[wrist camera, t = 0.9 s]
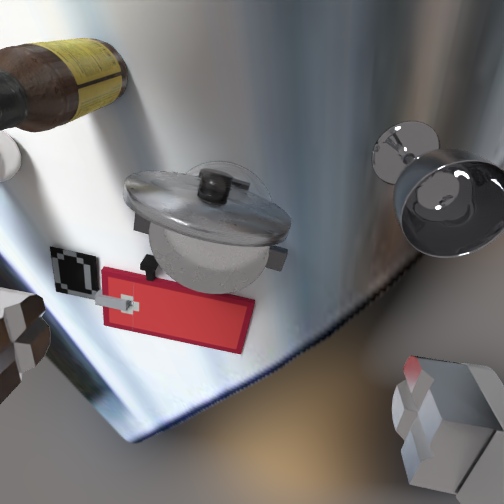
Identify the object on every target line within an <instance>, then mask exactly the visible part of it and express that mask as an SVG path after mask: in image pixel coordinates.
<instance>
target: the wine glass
mask: <svg viewBox="0 0 504 504" xmlns="http://www.w3.org/2000/svg"><path fill="white" fill-rule="evenodd" d="M372 166H373V169H374V171H375V173H376V174H377V176H378V177H379V178H380V179H381V180H383V181H384V182H386V183H389V184H392V185H395V186H394V191H393V205H394V211H395V215H396V219H397V221H398V223H399V226H400V228H401V230H402V232H403V234H404V236H405V237H406V239H407V240H408V241H409V243H410V244H411V245H412V246H413V247H414V248H415V249H417V250H418V251H420V252H422V253H424V254H427V255H429V256H433V257H439V258H453V257H460V256H464V255H468V254H471V253H473V252H476V251H478V250H480V249H482V248H484V247H486V246H487V245H489V244H490V243H491V242H493V241H494V240H495V239H497V238H498V237H499V236H500V235H501V234H502V233H503V232H504V170H503V169H501V168H500V167H498V166H497V165H495V164H494V163H492V162H491V161H489V160H488V159H486V158H484V157H482V156H480V155H477V154H475V153H472V152H468V151H465V150H460V149H452V148H441V149H440V141H439V138H438V135H437V134H436V132H435V131H434V130H433V129H432V128H431V127H430V126H428V125H427V124H425V123H422V122H418V121H406V122H402V123H399V124H396V125H394V126H392V127H391V128H389V129H388V130H386V131H385V132H384V133H383V134H382V135H381V136H380V138H379V139H378V140H377V142H376V144H375V146H374V149H373V152H372Z"/></svg>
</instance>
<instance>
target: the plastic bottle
mask: <svg viewBox="0 0 504 504" xmlns="http://www.w3.org/2000/svg"><path fill="white" fill-rule="evenodd" d="M20 167H21V153H20V150H19V148H18V146H17V144H16V143H15V141H14V140H13V139H12V138H11V137H10V136H9V135H8V134H7V133H5V132H4V131H2V130H1V131H0V183H1V182H4V181H7V180H9V179H11V178H12V177H13V176H14V175H15V174H16V173H17V172H18V171H19V169H20Z"/></svg>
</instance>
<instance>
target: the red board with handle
mask: <svg viewBox="0 0 504 504" xmlns="http://www.w3.org/2000/svg"><path fill="white" fill-rule="evenodd" d="M50 252H51V259H52V266H53V273H54V280H55V287H56V292H61V293H66V294H70V295H75V296H80V297H84V298H89V299H94V300H95V305H100V306H103V317H104V325H105V326H110V327H114V328H119V329H124V330H129V331H133V332H138V333H143V334H147V335H152V336H157V337H161V338H166V339H171V340H176V341H180V342H185V343H190V344H194V345H199V346H204V347H208V348H213V349H218V350H223V351H227V352H232V353H237V354H241V352H242V348H243V345H244V341H245V337H246V334H247V330H248V326H249V323H250V319H251V315H252V312H253V308H254V304H255V300H253V299H248V298H244V297H240V296H235V295H231V294H226V293H224V294H209V293H203V292H198V291H195V290H192V289H189V288H187V287H185V286H183V285H181V284H180V283H178V282H173V281H169V280H164V279H160V278H155V269H156V268H157V266H158V262H157V261H156V259H155V257H154V256H153V255H148V254H146V256H145V258H144V259H143V261H142V262H141V264H140V270H145V271H146V275H141V274H137V273H132V272H128V271H123V270H118V269H114V268H109V267H105V266H104V267H103V269H102V270H101V273H102V290H101V289H99V290H98V287H97V269H96V256H92V255H87V254H83V253H78V252H73V251H69V250H64V249H60V248H55V247H51V246H50ZM129 300H130V301H133V306H131V305H129Z"/></svg>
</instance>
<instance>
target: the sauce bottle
mask: <svg viewBox="0 0 504 504" xmlns="http://www.w3.org/2000/svg"><path fill="white" fill-rule="evenodd" d="M126 85H127V68H126V65H125V63H124V62H123V59H122V58H121V56H120V55H119V54H118V52H117V51H116V50H115V49H114V48H113V47H112V46H111V45H110V44H108V43H106V42H103V41H100V40H97V39H87V38H80V39H70V40H60V41H50V42H39V43H29V44H23V45H18V46H11V47H6V48H4V49H1V50H0V131H1V130H4V129H7V128H13V127H17V128H20V129H22V130H25V131H29V132H41V131H46V130H50V129H52V128H55V127H57V126H60V125H64V124H66V123H68V122H71V121H73V120H75V119H77V118H79V117H81V116H84V115H86V114H88V113H90V112H92V111H95V110H97V109H99V108H101V107H103V106H106V105H108V104H110V103H112V102H113V101H114V100H115V99H117V98H118V97H120V96H121V95H122V94H123V93H124V91H125V89H126Z"/></svg>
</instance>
